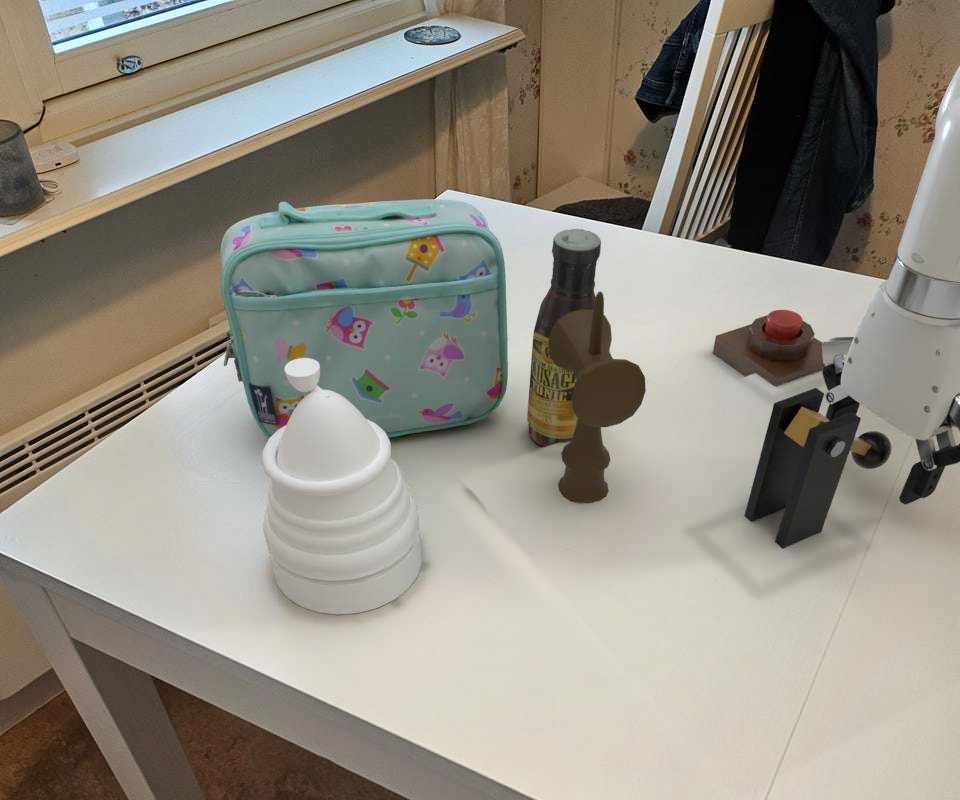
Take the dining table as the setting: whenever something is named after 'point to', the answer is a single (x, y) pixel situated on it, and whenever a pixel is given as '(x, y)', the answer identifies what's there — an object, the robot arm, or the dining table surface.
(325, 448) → the honey pot
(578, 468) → the kendama
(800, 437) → the switch lever
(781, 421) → the switch bracket
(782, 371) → the button block
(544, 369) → the sauce bottle
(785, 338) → the light button
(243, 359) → the lunch box
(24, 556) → the dining table surface
